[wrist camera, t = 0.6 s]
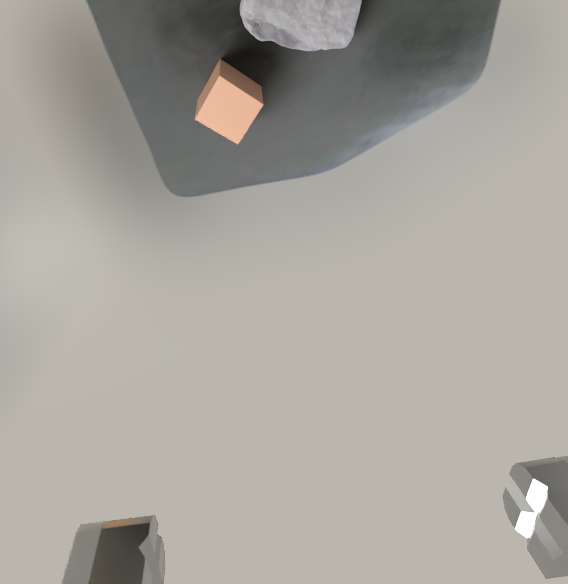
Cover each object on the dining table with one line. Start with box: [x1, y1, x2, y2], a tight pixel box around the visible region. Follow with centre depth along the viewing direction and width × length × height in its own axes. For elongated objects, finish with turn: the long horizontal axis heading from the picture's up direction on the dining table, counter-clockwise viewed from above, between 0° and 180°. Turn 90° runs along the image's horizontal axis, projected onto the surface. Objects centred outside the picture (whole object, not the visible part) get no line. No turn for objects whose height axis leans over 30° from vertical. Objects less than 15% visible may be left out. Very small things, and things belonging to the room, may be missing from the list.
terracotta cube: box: [195, 59, 264, 144], centre depth 47 cm, size 5×5×5 cm
